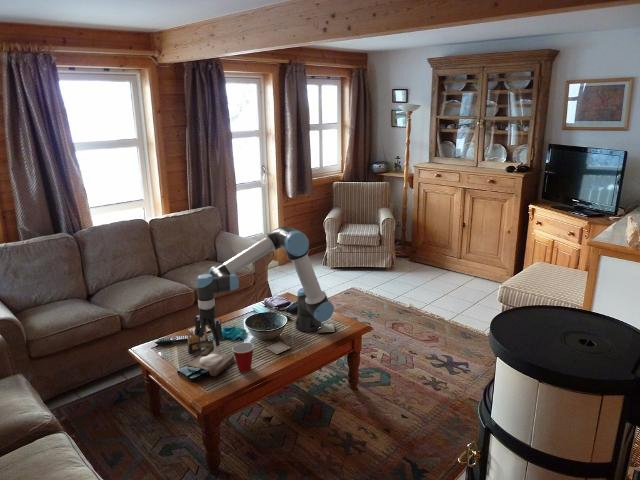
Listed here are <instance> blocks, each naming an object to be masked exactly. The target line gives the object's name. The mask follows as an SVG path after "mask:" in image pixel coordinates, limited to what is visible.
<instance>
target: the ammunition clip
mask: <svg viewBox="0 0 640 480" xmlns="http://www.w3.org/2000/svg"><path fill="white" fill-rule="evenodd" d="M203 336H205V341H209V337H208V332H207V326H206V327H205V331H204V335H203ZM198 342H199V337H198V335H197V336H196V335H195V330H194V331H193V330H191V331H189V330H187V352H188V354H192V353H196V352H199V351H202V350H201V348H197V346H196V345H197V343H198ZM206 348H207V347H206ZM206 348H205V349H206ZM205 349H204V350H205Z"/></svg>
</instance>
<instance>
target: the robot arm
mask: <svg viewBox="0 0 640 480" xmlns="http://www.w3.org/2000/svg"><path fill="white" fill-rule="evenodd" d="M309 247H310V240H309V238H308V237H307V235H306V234H305V233H304V232H302V231H300V230H297V229H295V228H293V227H291V226H290V225H289V226H288V225H283V226H279V227H277V228H275V229H273V230H271V231H269V232H268V233H266V234H264V237H263V238H262V239H260V240H259V241H258V242H257V241H256V243H254V244H253V245H251V246H249V247H247V248H246V249H244V250H243V251H242V252H240V253H238V254H237V255H235V256H233V257H232V258H230V259H228V260H226V261H225V262H223V263H221V265H219V266H218V265H214V266H211V267H210V268H209V269H208V272H207V273H203V274H200V275H198V276H196V289H197V291H196V292H197V305H198V314H197V315H196V316H194V321H195V322H194V323H195V326H194V327H195V328H194V331H195V335H196V336H197V337H199V342H200V341H203V340H204V341H205V336H203V335H204V331H205V327H206V328H207V326H208V327H209V329H210V331H211V333H212V337H213V336H214V338H215V339H214V340H213V342H214V350H213V351H214V352H215V353H217V352H220V345H221V341H222V340H221V339H222V338H223V334H222V328H223V327H222V319H221V318H220V319H217V318H216V306H215V303H216V302H215V294H219V293H226V292H232V291H236V290H238V289H239V287H240V285H239V284H240V280H239V277H238V275H237V273H238V272H240V271H242V270H243V269H245V268H247V267H248V266H250V265H251V264H252V263H254V262H256V261H258V260H260V259H261V258H263V257H264V256H265V255H267V254H269V253H270V252H272V251H273V252H275V251H277V250H279V249H283V250H284V252H285V255H286V257H287V260H289V261H291V263H292V265H293V267H294V269H295V271H296V274H297V276H298V278H299V281H300V284H301V287H302V288H299V289H298V290H297V316H296V319H295V323H294V327H295V329H296V330H297V331H299V330H300V331H299V332H302V331H303V333H313V332H312V331H314V332H316V330H317V329H318V328H319V327H321V325H323V323H324V322H327V321H328V320H330V318H331V317H332V316H333V314H334V311H335V307H334V304H333V303H332V302H331V301H329V298H328V296H327V293H326V292H325V291H324V290H322V289H321V286H320V283H319V280H318V278H317V276H316V273H315V271H314V267H313V266H312V265H313V264H312V263H311V259H310V257H309V255H308V254H309V252H310V249H309ZM322 322H323V323H322ZM321 328H322V327H321ZM304 331H305V332H304ZM317 331H318V330H317ZM205 348H206V347H204V348H201V350H200V351H203V350H205Z"/></svg>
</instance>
